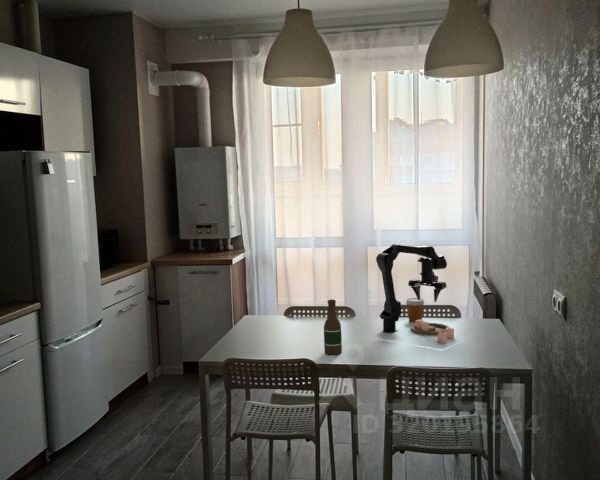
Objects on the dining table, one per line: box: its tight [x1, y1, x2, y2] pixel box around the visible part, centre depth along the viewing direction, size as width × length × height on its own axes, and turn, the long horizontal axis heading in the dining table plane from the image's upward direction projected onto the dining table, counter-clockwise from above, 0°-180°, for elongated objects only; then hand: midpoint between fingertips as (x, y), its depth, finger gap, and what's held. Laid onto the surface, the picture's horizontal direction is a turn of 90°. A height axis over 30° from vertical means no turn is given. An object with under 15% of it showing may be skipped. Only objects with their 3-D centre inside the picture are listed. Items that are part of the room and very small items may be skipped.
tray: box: [410, 322, 451, 337], centre depth 297 cm, size 18×18×2 cm
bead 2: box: [445, 327, 455, 340], centre depth 283 cm, size 4×4×5 cm
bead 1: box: [437, 332, 448, 345], centre depth 275 cm, size 4×4×5 cm
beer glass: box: [405, 297, 425, 323], centre depth 317 cm, size 10×10×12 cm
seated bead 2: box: [421, 321, 430, 331], centre depth 293 cm, size 4×4×5 cm
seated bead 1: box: [414, 319, 425, 331], centre depth 298 cm, size 4×4×5 cm
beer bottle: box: [323, 298, 343, 356], centre depth 266 cm, size 8×8×24 cm
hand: (427, 300), depth 307 cm, fingers open, 9 cm apart
